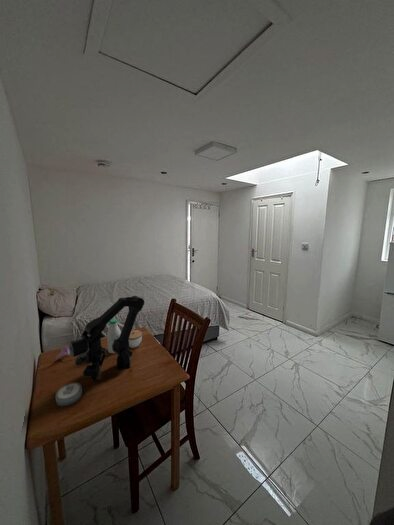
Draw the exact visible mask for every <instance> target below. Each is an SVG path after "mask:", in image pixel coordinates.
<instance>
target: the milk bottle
mask: <svg viewBox="0 0 394 525" xmlns="http://www.w3.org/2000/svg"><path fill="white" fill-rule="evenodd" d="M108 323H109V327H108V330H107V334H106V335H107V351H108V353H110V354H116V353H115V352H114V351H113V350H112V348H113V347H112V345H113V343H114V340H115V339H118V338H119V337H120V335H121V332H122V331H121V329H120V327H119V326H118V319H117V318H112V319H111V320H110V321H109V322H108Z"/></svg>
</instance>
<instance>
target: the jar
mask: <svg viewBox="0 0 394 525" xmlns="http://www.w3.org/2000/svg"><path fill="white" fill-rule="evenodd" d="M82 388H83V386H82V384H80V382H79V383H78V382H71V383H67V384H65V385H63V386H62V387H60V388H59V389H58V390H57V391H56V393H55V403H56V406H59V407H67V406H70V405H73V404H74V403H76V402H77V401H79V400H80V399H81V397H82V395H83V389H82Z"/></svg>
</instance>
